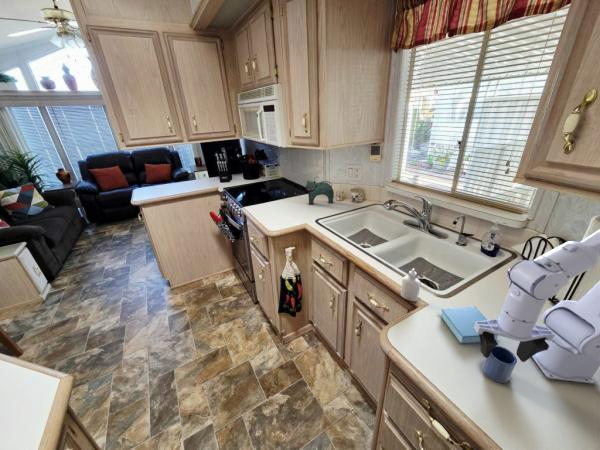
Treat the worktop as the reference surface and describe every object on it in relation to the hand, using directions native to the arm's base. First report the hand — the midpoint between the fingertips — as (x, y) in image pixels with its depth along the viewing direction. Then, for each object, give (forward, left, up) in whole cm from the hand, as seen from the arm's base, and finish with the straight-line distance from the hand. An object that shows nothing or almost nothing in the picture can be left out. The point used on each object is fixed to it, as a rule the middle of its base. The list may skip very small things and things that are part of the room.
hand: (502, 356), depth 59 cm
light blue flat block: (+1, -14, -6) cm, 15 cm away
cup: (0, 0, -6) cm, 6 cm away
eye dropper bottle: (+15, -26, -6) cm, 31 cm away
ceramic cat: (+57, -124, -6) cm, 137 cm away
